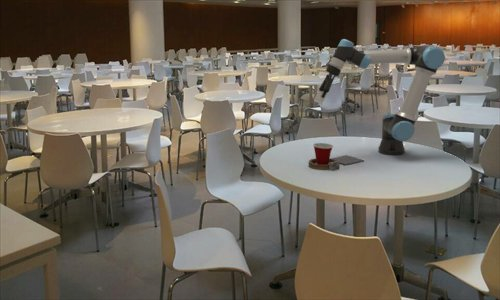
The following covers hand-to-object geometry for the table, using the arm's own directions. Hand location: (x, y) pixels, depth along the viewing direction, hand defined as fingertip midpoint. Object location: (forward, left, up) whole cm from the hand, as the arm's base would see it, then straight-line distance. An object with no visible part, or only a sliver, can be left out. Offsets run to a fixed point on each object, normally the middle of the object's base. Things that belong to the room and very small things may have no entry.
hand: (317, 102), depth 275 cm
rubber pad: (-14, +9, -34) cm, 37 cm away
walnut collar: (+3, +10, -34) cm, 35 cm away
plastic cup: (+3, +9, -34) cm, 35 cm away
